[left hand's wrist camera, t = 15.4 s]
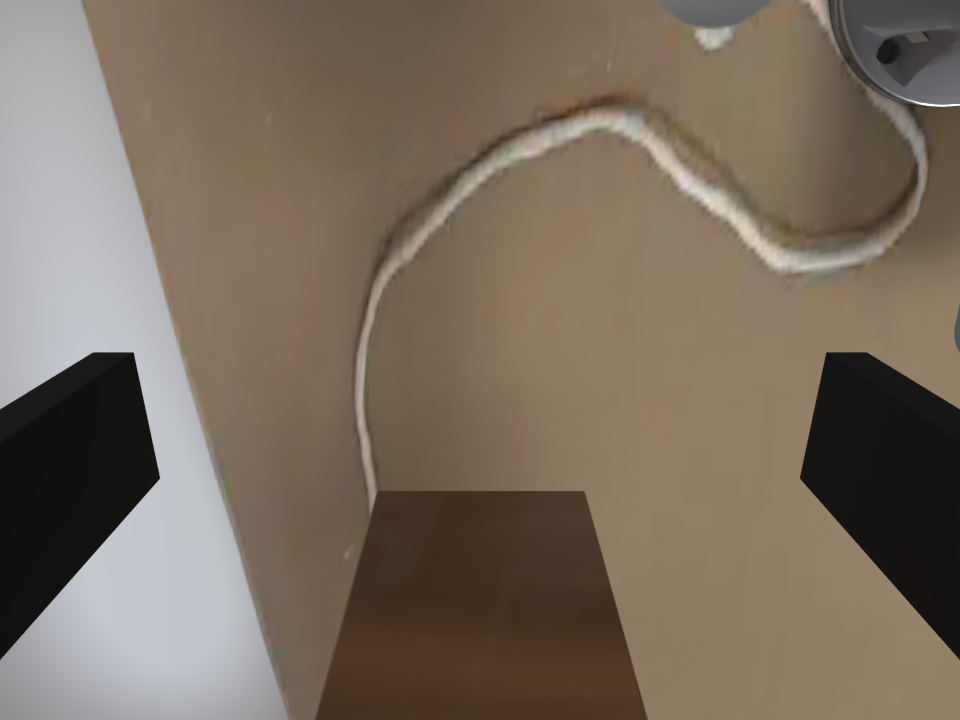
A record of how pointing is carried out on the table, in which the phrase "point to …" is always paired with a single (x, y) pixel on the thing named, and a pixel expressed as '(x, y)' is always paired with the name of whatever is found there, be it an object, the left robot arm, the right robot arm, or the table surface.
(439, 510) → the bar
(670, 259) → the table surface
